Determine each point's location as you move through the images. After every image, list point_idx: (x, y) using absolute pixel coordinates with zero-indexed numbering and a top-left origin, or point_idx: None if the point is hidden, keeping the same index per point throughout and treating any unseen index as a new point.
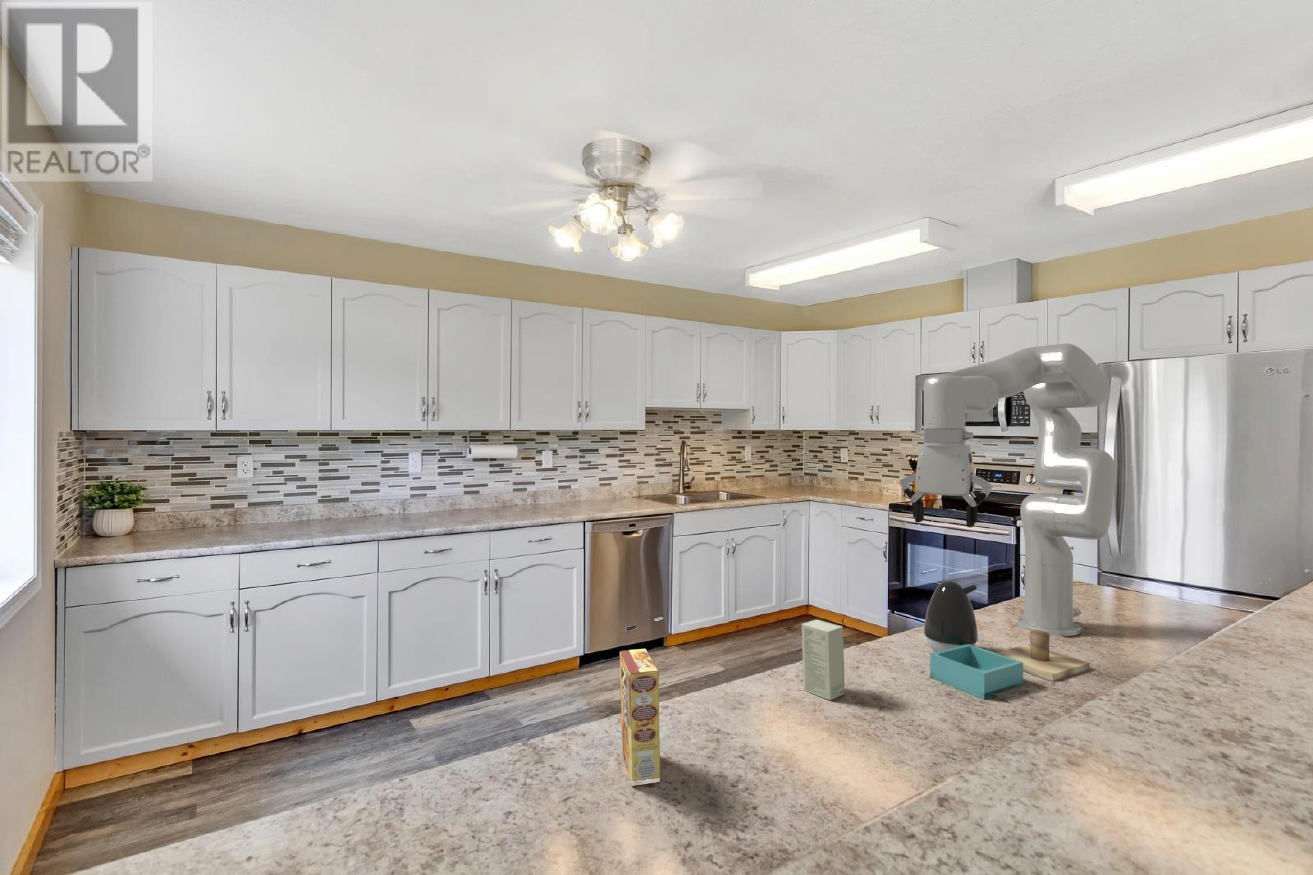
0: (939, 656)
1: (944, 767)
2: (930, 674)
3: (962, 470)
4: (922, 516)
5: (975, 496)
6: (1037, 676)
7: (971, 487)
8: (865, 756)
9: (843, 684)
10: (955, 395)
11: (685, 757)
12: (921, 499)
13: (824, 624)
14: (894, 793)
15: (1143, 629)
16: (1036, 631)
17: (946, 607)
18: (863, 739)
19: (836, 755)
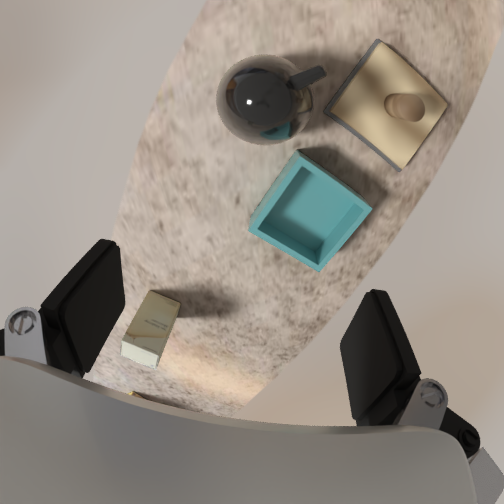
0: (261, 236)
1: (280, 368)
2: (250, 217)
3: None
4: (110, 276)
5: (438, 429)
6: (384, 158)
7: (461, 468)
8: (231, 373)
9: (177, 312)
10: None
11: (150, 391)
12: (54, 346)
13: (138, 353)
14: (256, 392)
15: None
16: (409, 100)
17: (259, 141)
18: (223, 358)
19: (215, 376)
